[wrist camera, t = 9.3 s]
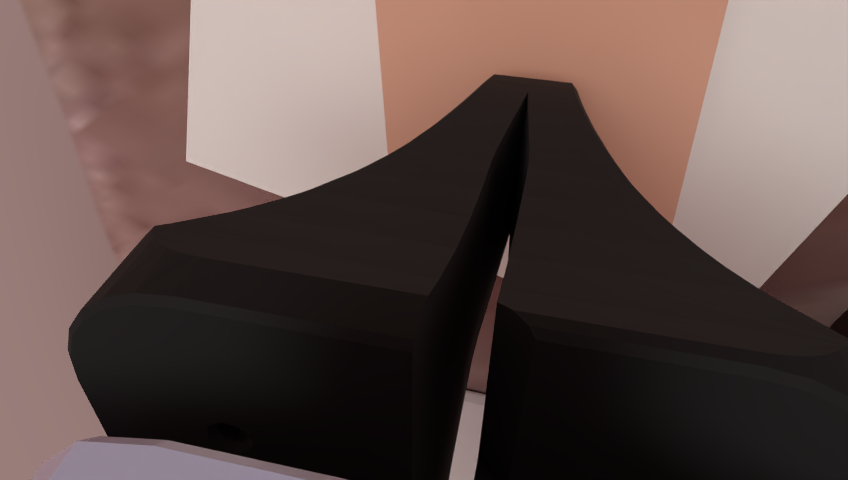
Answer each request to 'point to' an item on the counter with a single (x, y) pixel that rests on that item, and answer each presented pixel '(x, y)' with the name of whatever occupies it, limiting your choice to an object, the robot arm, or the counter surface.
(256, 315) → the robot arm
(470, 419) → the eye dropper bottle
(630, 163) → the tan brick
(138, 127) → the counter surface
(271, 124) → the post board
